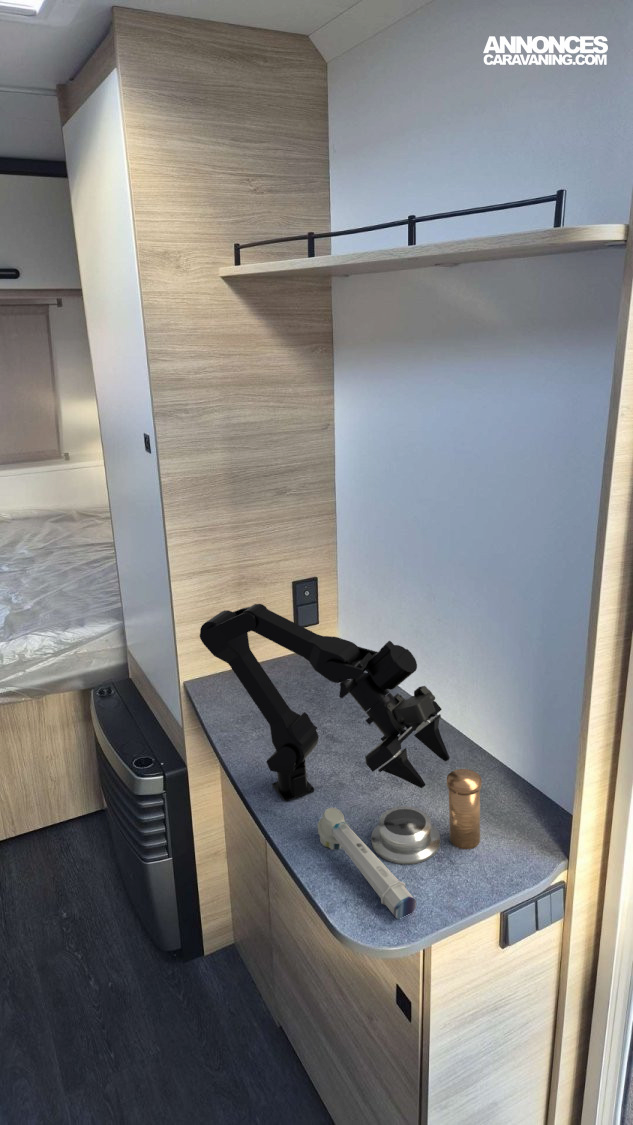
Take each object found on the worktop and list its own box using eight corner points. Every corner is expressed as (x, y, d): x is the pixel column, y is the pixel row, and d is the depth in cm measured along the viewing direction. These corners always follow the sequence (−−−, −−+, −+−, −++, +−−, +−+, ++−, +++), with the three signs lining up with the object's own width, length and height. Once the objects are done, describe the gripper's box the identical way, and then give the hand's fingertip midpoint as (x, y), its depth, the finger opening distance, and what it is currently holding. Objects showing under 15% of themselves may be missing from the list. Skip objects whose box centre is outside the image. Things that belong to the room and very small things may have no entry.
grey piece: (392, 906, 119) (311, 804, 138) (390, 937, 122) (311, 833, 141) (420, 892, 121) (337, 794, 141) (418, 923, 124) (336, 822, 144)
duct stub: (358, 834, 141) (357, 815, 140) (415, 812, 146) (414, 793, 145) (395, 873, 131) (394, 853, 129) (454, 848, 136) (453, 828, 134)
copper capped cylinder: (441, 835, 139) (439, 774, 135) (468, 824, 141) (467, 764, 137) (461, 854, 134) (460, 791, 130) (488, 842, 136) (488, 780, 132)
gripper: (377, 703, 128) (440, 781, 125) (430, 658, 142) (488, 727, 139) (339, 734, 135) (399, 808, 132) (394, 688, 149) (448, 754, 146)
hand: (436, 773), depth 137 cm, fingers open, 9 cm apart
